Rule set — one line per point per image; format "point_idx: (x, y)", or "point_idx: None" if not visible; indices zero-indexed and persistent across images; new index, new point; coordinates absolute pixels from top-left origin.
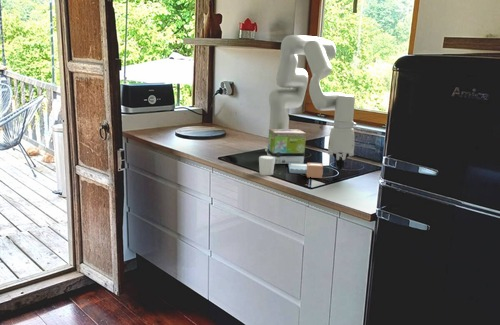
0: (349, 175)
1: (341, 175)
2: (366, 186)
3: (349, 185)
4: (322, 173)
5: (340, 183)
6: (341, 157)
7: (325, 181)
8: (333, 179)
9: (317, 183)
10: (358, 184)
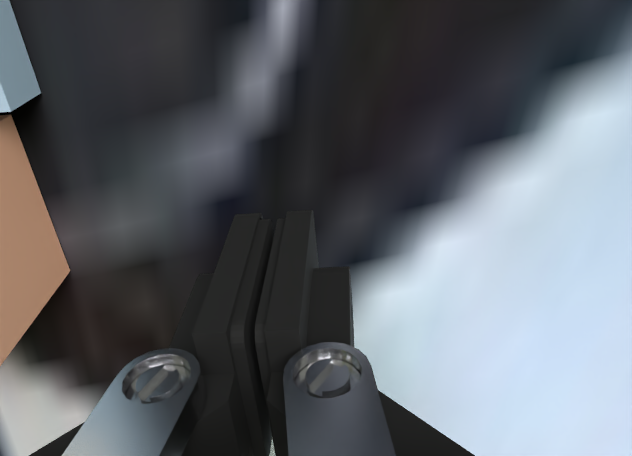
0: (499, 20)
1: (352, 59)
2: (576, 441)
3: None
4: (28, 99)
5: None
6: (286, 428)
7: None
8: None
9: None
10: (506, 402)
